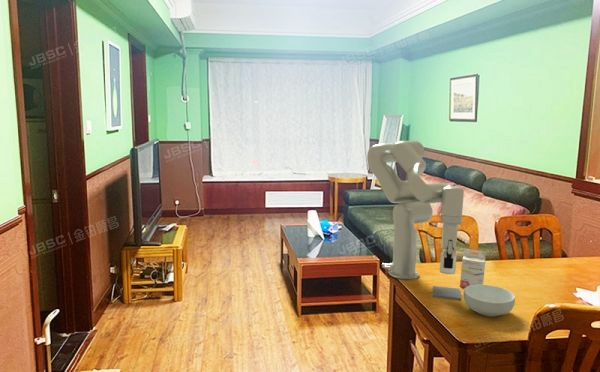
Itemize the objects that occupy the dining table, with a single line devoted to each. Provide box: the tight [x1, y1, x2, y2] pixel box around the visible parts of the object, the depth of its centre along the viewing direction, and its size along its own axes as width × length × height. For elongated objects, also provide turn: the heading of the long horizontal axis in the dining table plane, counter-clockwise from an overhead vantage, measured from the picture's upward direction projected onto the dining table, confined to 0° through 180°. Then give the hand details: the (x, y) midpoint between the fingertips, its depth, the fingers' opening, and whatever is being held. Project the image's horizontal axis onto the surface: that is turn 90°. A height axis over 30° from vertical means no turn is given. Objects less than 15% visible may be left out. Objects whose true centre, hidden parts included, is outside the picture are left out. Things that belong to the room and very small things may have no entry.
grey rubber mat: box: [432, 285, 462, 301], centre depth 179 cm, size 10×10×1 cm
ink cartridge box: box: [459, 248, 486, 289], centre depth 186 cm, size 9×5×15 cm, turn 65°
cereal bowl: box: [463, 284, 516, 317], centre depth 163 cm, size 17×17×7 cm
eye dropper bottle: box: [439, 248, 457, 275], centre depth 177 cm, size 4×6×12 cm
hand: (447, 265), depth 178 cm, fingers closed on eye dropper bottle, 3 cm apart
